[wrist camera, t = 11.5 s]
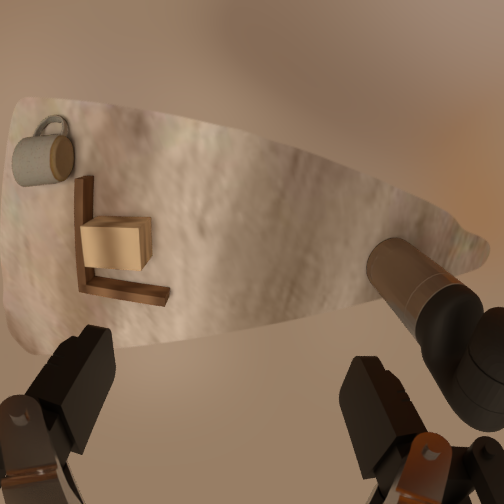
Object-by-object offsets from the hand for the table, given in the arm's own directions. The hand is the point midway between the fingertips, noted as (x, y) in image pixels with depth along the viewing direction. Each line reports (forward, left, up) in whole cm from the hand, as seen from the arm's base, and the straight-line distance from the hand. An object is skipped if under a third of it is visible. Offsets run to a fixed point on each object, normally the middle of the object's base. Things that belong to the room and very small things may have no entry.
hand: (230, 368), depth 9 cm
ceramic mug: (+30, -4, -36) cm, 47 cm away
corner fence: (+16, +9, -36) cm, 40 cm away
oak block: (+17, +9, -36) cm, 41 cm away
